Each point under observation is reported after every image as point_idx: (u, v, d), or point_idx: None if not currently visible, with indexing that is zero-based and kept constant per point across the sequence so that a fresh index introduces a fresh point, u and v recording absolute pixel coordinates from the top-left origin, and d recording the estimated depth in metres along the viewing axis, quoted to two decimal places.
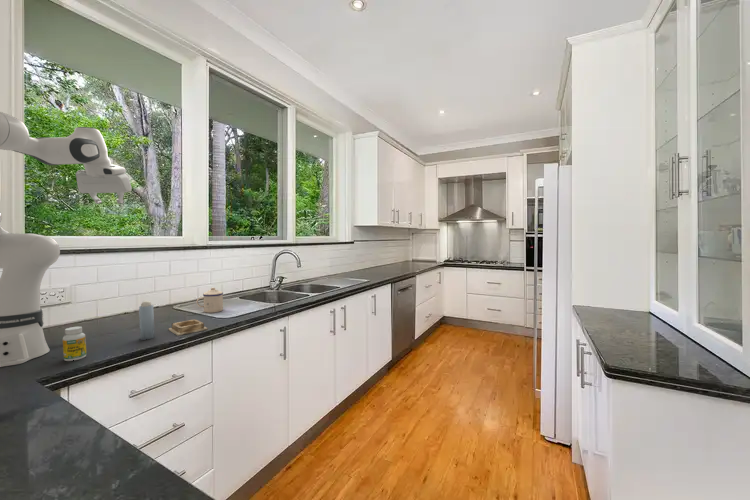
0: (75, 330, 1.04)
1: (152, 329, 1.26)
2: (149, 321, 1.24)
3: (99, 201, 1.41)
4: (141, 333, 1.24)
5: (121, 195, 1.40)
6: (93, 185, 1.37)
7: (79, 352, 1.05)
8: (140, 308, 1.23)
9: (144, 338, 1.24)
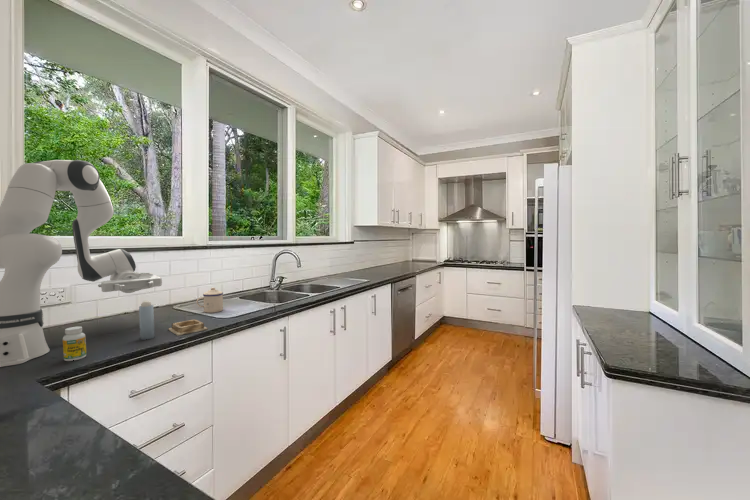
0: (75, 330, 1.04)
1: (152, 329, 1.26)
2: (149, 321, 1.24)
3: None
4: (141, 333, 1.24)
5: (153, 282, 1.40)
6: (123, 280, 1.36)
7: (79, 352, 1.05)
8: (140, 308, 1.23)
9: (144, 338, 1.24)
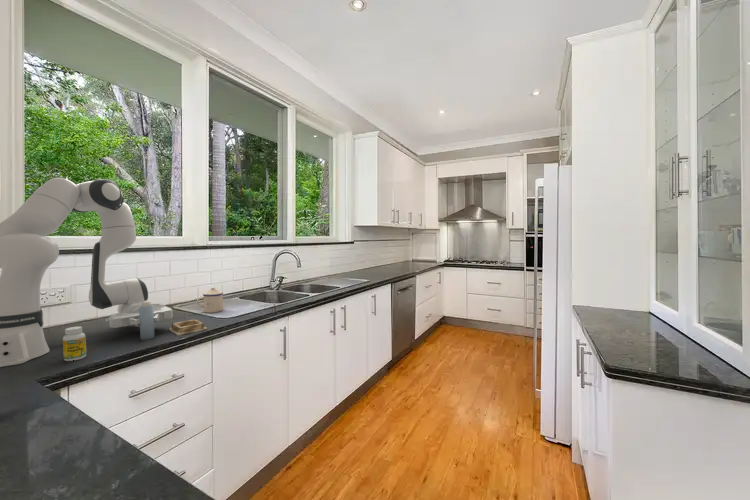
0: (75, 330, 1.04)
1: (152, 329, 1.26)
2: (149, 321, 1.24)
3: None
4: (141, 333, 1.24)
5: (158, 316, 1.31)
6: (132, 314, 1.28)
7: (79, 352, 1.05)
8: (140, 308, 1.23)
9: (144, 338, 1.24)
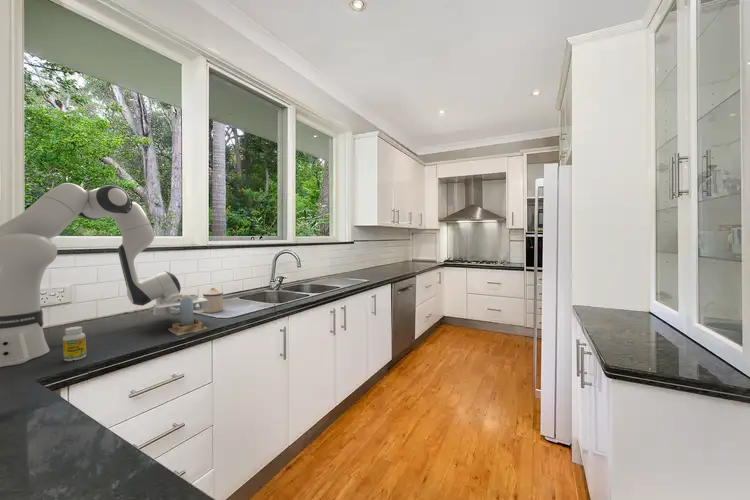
0: (75, 330, 1.04)
1: (192, 320, 1.36)
2: (189, 313, 1.35)
3: None
4: (183, 324, 1.34)
5: (199, 305, 1.41)
6: (173, 303, 1.38)
7: (79, 352, 1.05)
8: (181, 301, 1.34)
9: None
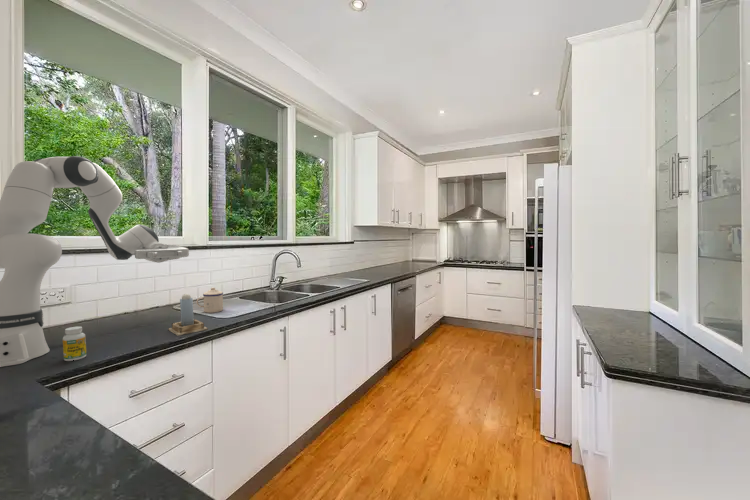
0: (75, 330, 1.04)
1: (192, 320, 1.36)
2: (189, 313, 1.35)
3: None
4: (183, 324, 1.34)
5: (181, 252, 1.50)
6: (154, 249, 1.46)
7: (79, 352, 1.05)
8: (181, 301, 1.34)
9: None
